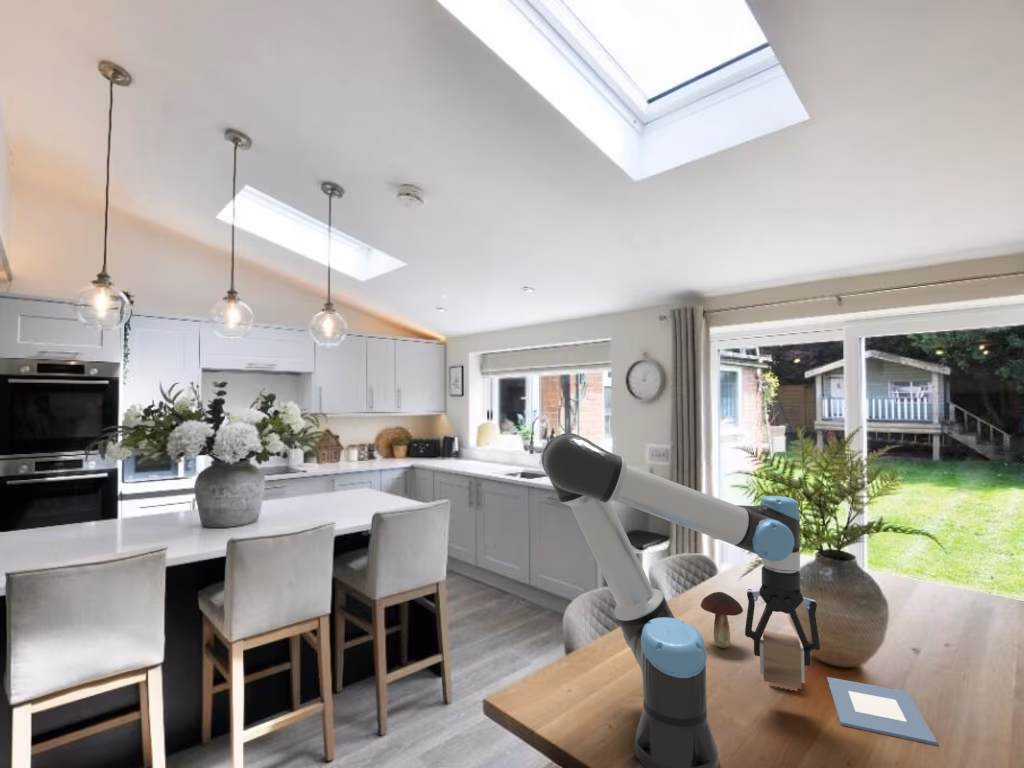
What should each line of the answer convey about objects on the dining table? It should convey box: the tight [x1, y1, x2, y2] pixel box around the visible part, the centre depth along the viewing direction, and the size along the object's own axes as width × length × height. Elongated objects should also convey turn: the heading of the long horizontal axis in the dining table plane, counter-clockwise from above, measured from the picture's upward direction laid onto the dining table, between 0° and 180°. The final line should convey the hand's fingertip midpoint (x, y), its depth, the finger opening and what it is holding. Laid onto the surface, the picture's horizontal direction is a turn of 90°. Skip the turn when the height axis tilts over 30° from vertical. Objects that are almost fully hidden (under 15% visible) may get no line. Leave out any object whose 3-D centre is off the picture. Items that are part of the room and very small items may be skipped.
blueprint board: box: [826, 676, 938, 746], centre depth 111 cm, size 20×16×1 cm
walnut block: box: [762, 630, 802, 690], centre depth 110 cm, size 7×7×8 cm
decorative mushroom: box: [700, 591, 744, 649], centre depth 141 cm, size 11×11×15 cm
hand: (781, 675), depth 110 cm, fingers closed on walnut block, 7 cm apart
